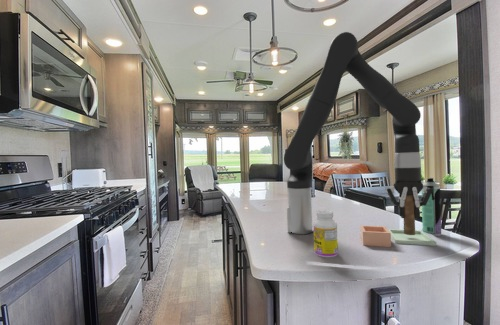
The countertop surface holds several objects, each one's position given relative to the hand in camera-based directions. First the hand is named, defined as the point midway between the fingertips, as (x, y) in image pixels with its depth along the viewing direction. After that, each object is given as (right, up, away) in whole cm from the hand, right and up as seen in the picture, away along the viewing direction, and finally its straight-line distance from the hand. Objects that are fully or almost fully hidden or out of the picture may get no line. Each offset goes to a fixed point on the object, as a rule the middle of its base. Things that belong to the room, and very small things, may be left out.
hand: (409, 217), depth 85 cm
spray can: (+12, -7, +6) cm, 16 cm away
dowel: (0, -5, 0) cm, 5 cm away
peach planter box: (-13, -8, -3) cm, 15 cm away
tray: (0, -8, 0) cm, 8 cm away
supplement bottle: (-31, -9, -11) cm, 34 cm away
